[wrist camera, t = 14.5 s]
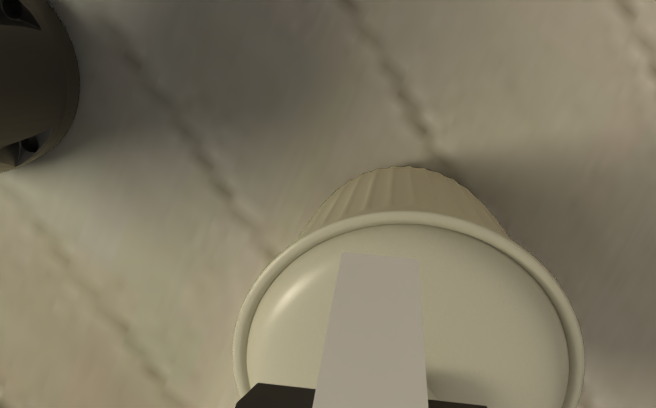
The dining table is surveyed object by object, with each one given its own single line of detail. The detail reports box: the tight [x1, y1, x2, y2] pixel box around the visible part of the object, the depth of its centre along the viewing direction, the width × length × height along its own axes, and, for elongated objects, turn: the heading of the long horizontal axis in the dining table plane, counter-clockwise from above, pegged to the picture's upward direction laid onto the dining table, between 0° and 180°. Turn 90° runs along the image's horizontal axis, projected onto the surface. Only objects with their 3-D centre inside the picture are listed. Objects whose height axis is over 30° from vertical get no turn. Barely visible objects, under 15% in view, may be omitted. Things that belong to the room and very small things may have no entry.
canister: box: [232, 166, 585, 408], centre depth 37 cm, size 18×18×21 cm
